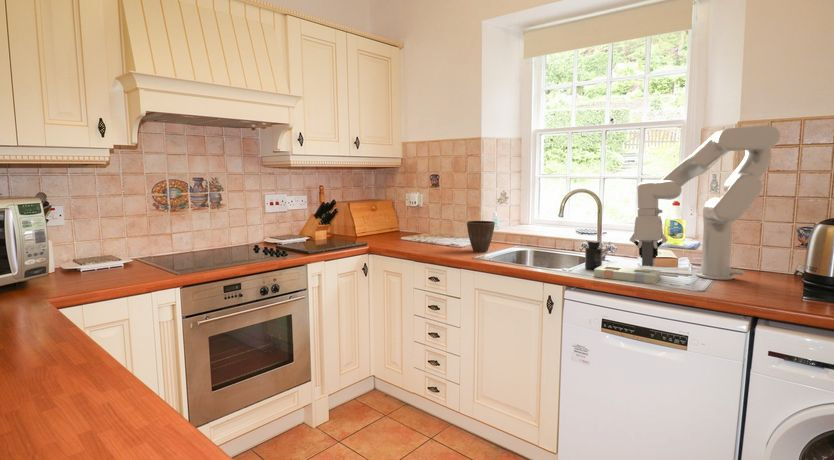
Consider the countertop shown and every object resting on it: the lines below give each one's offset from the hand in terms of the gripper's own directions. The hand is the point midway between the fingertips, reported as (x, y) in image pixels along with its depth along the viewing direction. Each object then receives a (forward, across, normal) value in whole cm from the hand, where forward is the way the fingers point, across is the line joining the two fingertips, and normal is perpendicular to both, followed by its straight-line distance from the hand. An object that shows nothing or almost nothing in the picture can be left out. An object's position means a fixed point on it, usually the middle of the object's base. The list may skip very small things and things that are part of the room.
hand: (648, 257), depth 193 cm
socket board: (+6, +6, +13) cm, 15 cm away
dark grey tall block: (+3, 0, 0) cm, 3 cm away
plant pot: (+3, +84, -13) cm, 86 cm away
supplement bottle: (+6, +22, +2) cm, 22 cm away
